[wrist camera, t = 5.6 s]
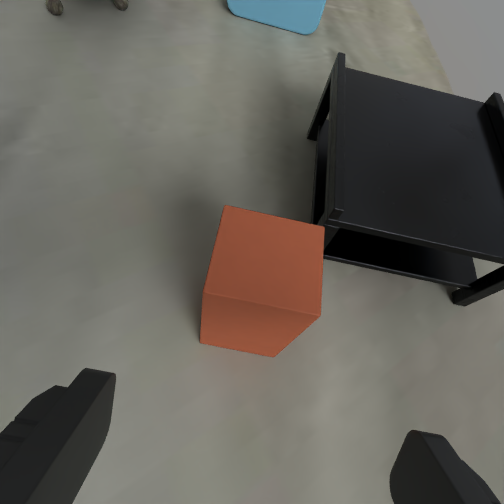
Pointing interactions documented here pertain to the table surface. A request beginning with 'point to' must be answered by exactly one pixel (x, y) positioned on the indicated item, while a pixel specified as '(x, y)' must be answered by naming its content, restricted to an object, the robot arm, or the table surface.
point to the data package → (281, 13)
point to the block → (261, 282)
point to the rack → (410, 180)
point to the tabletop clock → (57, 8)
